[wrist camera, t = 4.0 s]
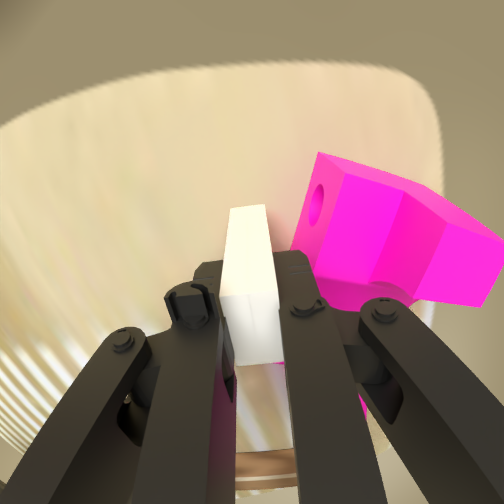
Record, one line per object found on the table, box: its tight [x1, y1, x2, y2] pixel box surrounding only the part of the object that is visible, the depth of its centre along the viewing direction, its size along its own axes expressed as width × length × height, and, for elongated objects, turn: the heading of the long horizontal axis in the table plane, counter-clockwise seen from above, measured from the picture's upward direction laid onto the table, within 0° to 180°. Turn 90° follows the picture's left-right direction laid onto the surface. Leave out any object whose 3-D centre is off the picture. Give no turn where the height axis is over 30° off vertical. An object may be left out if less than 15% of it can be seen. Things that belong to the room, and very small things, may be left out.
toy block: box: [276, 152, 504, 418], centre depth 14 cm, size 15×6×8 cm, turn 168°
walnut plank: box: [235, 449, 298, 490], centre depth 27 cm, size 16×5×3 cm, turn 98°
